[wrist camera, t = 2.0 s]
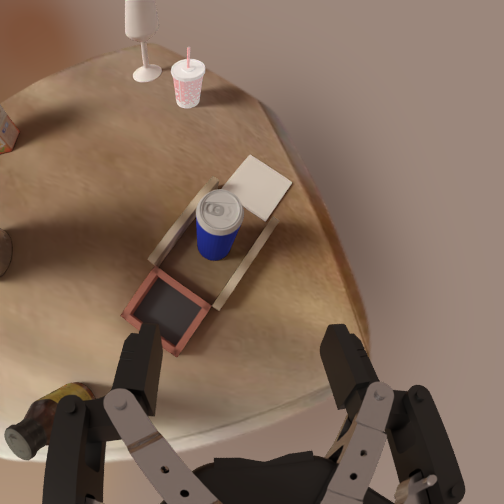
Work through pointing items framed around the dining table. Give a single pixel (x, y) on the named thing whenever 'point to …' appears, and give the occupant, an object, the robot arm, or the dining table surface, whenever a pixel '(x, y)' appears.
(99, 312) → the dining table surface
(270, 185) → the mat
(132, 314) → the box
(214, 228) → the beverage can
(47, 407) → the sauce bottle
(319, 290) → the dining table surface
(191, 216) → the channel
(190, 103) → the beverage cup
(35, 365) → the dining table surface
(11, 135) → the cracker box
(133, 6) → the champagne flute
